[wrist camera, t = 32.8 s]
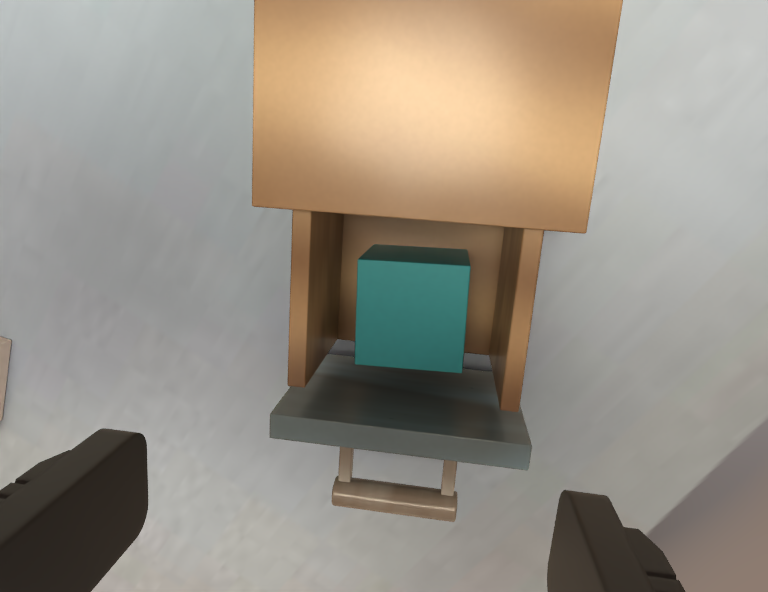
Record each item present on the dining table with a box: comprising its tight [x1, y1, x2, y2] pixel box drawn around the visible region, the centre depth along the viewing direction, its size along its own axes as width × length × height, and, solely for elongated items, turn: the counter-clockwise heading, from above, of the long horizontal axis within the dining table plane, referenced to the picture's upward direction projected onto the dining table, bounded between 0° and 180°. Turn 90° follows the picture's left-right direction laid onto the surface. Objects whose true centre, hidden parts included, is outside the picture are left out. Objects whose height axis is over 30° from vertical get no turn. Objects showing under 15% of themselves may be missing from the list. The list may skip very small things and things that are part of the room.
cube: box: [355, 244, 471, 373], centre depth 27 cm, size 5×5×5 cm
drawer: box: [270, 210, 544, 522], centre depth 27 cm, size 18×11×8 cm, turn 176°
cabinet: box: [252, 0, 623, 233], centre depth 23 cm, size 15×13×10 cm
